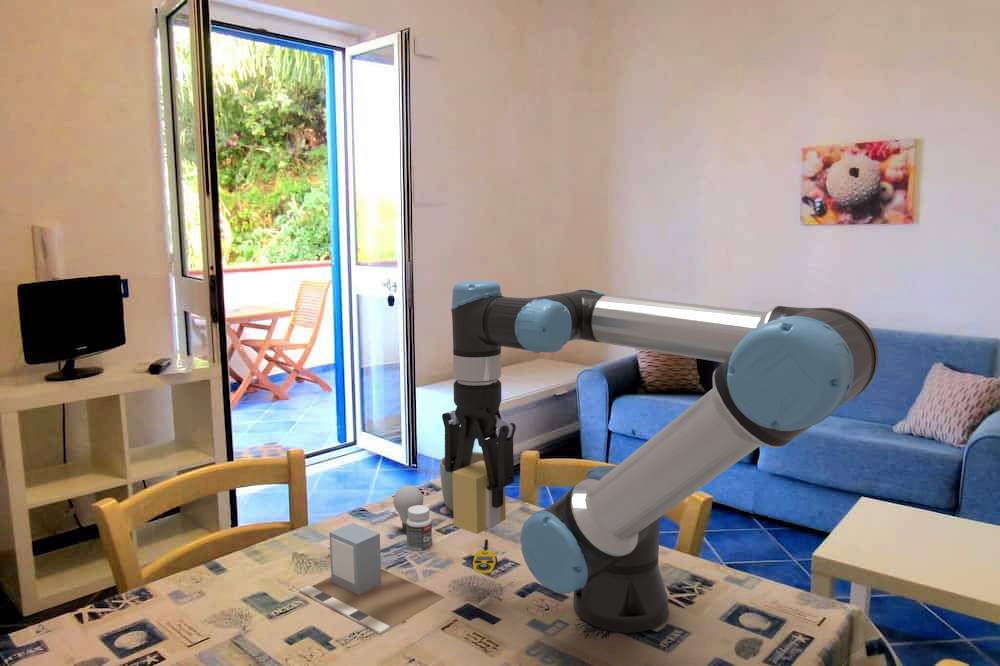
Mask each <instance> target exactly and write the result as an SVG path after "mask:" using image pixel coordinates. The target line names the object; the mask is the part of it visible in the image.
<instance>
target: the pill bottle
mask: <svg viewBox="0 0 1000 666" xmlns="http://www.w3.org/2000/svg"><path fill="white" fill-rule="evenodd" d="M430 516H431V515H430V508H429V506H427V505H416V506H412V507H410V508H409V509H408V517H409V518H408V519H407V522H406V527H407V531H406V547H407V549H409V550H411V551H414V552H415V551H417V552H419V551H425V550H428V549H431V547H433V532H432V531H433V528H432V527H433V525H432V518H431V517H430Z"/></svg>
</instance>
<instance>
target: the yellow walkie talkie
mask: <svg viewBox="0 0 1000 666" xmlns="http://www.w3.org/2000/svg"><path fill="white" fill-rule="evenodd" d="M488 542H489V540H488V539H485V540H484V547H483V550H477V551H476V552H475V553H474V555H473V556H472V558H471V564H470V565H471V567H472V568H473V571H474V572H475V573H478V574H489V573H492V572H493V570H494V568H496V566H498V565H499V564H498V557H497V556H496V554H495V553H494V551H492V550H488V545H489V543H488Z"/></svg>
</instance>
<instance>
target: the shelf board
mask: <svg viewBox="0 0 1000 666" xmlns="http://www.w3.org/2000/svg"><path fill="white" fill-rule="evenodd" d="M298 593H300V594H302V595H304V596H306V597H308V598H309V599H311V600H313V601H314V602H316V603H319V604H320V605H322V606H324V607H326V608H328V609H330V610H332V611H334V612H336V613H338V614H339V615H341V616H343V617H345V618H347V619H349V620H351V621H353V622H355V623H357V624H359V625H360V626H362V627H364V628H366V629H368V630H370V631H372V632H374V633H375V634H378V635H379V636H380V635H383V634H385V633H386V632H387V631H390V630H391V629H393V628H395V627H396V626H398V625H400V624H402V623H403V622H405V621H407V620H408V619H410V618H412V617H414V616H415V615H417V614H419V613H420V612H423V611H424V610H425V609H428V608H429V607H431V606H433V605H434V604H437V602H439V601H441V600H443V599H444V598H445V596H444V595H441V594H438V593H437V592H434V591H433V590H430V589H427V588H425V587H423V586H421V585H418V584H416V583H414V582H412V581H409V580H407V579H405V578H403V577H401V576H398V575H396V574H394V573H392V572H389V571H387V570H385V569H382V568H381V584H379V585H377V586H375V587H374V588H372V589H370V590H368V591H366V592H364V593H362V594H360V595H357V594H355V593H353V592H351V591H349V590H347V589H345V588H343V587H341V586H339V585H337V584H335V583H332V580H331V576H329V577H328V578H326V579H324V580H322V581H319V582H318V583H316V584H313V585H310V584H308V585H307V586H304V587H302V588H300V589H299V590H298Z"/></svg>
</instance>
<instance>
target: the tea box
mask: <svg viewBox="0 0 1000 666" xmlns="http://www.w3.org/2000/svg"><path fill="white" fill-rule="evenodd" d="M452 476H453V511H452V512H453V527H457V528H458V529H462V530H463V531H464V530H465V531H468V532H470V533H473V534H475V535H478V534H480V533H482V532H484V531H486V530H488V529H489V528H487V527H486V488H487V487H488V486H490V485H489V480H488V475H487V471H486V466H485V461H482V460H481V461H479V462H476V463H474V464H471V465H469V466H466V467H464V468H461V469H459V470H456V471H454V472H452ZM496 480H497V479H496ZM506 518H507V517H506V487H503V506H501V507H500V523H502V522H503V521H505V520H506Z"/></svg>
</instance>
